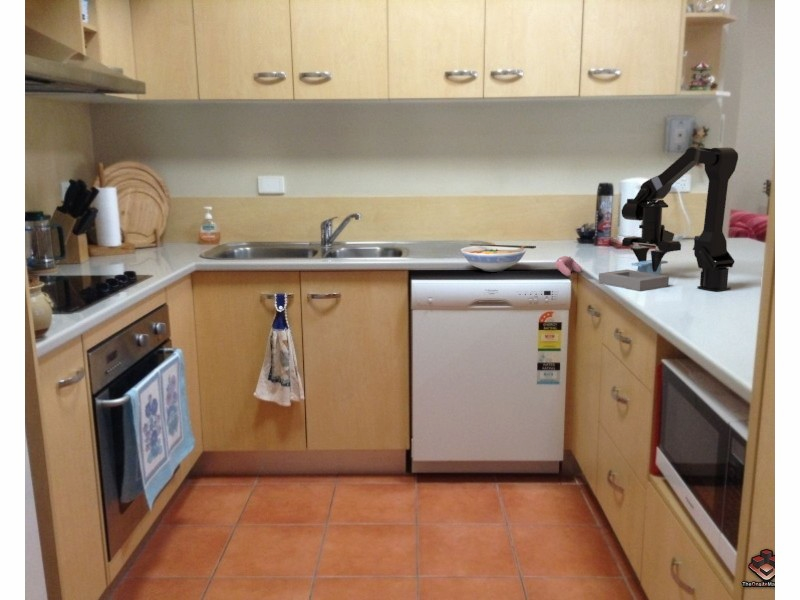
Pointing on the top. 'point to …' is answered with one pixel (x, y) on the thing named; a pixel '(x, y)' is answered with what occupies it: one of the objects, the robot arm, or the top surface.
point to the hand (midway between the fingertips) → (649, 270)
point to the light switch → (633, 280)
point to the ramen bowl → (494, 256)
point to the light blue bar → (648, 266)
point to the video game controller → (567, 265)
